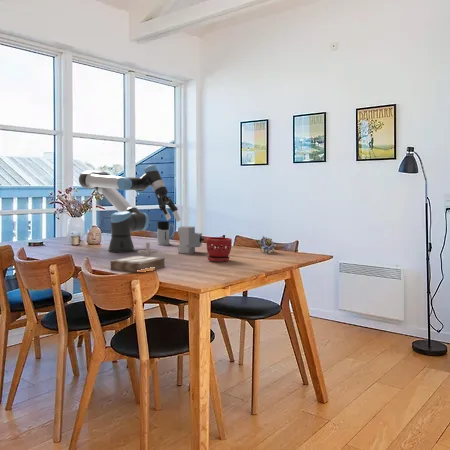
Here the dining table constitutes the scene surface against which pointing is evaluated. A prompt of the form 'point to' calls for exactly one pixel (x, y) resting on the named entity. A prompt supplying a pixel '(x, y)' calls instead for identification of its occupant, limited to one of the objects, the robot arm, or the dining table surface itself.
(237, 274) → the dining table surface
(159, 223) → the grey travel mug
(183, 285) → the dining table surface
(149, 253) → the pipe connector
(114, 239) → the robot arm
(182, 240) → the circuit breaker
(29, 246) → the dining table surface
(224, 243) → the plant pot
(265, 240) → the passion flower
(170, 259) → the dining table surface
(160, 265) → the stand
